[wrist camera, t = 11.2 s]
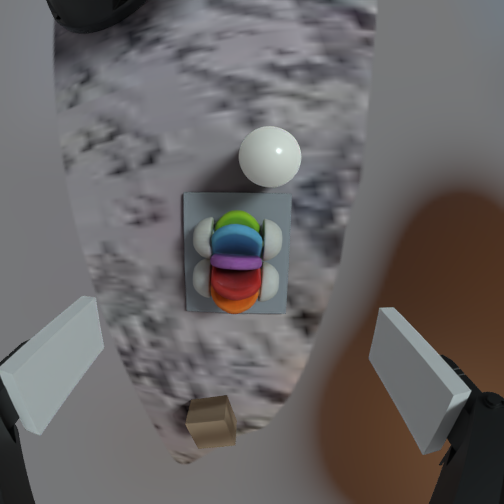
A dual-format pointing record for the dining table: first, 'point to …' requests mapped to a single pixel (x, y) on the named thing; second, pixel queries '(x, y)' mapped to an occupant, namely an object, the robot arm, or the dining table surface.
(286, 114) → the dining table surface
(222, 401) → the walnut block
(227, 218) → the rainbow wheeled toy
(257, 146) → the white glossy rounded part
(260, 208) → the felt mat
